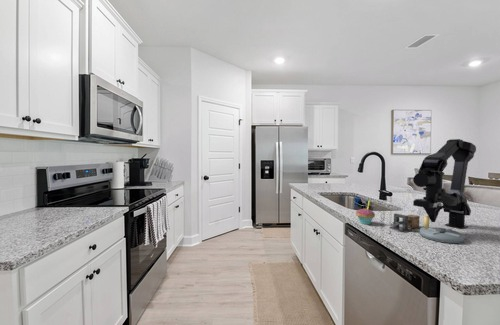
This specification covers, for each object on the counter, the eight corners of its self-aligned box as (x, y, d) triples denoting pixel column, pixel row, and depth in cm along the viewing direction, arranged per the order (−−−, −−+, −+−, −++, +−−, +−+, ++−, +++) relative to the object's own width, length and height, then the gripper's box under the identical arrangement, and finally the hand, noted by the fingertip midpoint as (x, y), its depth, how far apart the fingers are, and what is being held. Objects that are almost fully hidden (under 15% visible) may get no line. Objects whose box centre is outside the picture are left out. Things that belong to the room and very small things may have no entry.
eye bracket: (396, 226, 115) (397, 212, 115) (412, 230, 109) (412, 216, 108) (389, 228, 113) (389, 213, 113) (404, 232, 106) (405, 217, 106)
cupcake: (373, 221, 124) (373, 198, 123) (376, 226, 116) (376, 201, 115) (354, 220, 126) (355, 197, 126) (356, 224, 118) (356, 200, 118)
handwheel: (432, 229, 109) (432, 214, 109) (471, 239, 96) (471, 221, 96) (412, 234, 103) (412, 217, 103) (451, 245, 90) (451, 226, 90)
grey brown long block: (411, 225, 117) (411, 214, 117) (419, 226, 113) (419, 216, 113) (388, 229, 110) (388, 218, 110) (395, 231, 107) (395, 220, 106)
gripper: (442, 189, 94) (441, 229, 95) (468, 186, 102) (467, 224, 103) (412, 186, 104) (412, 222, 105) (438, 184, 112) (437, 218, 113)
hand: (433, 221), depth 106 cm, fingers closed
